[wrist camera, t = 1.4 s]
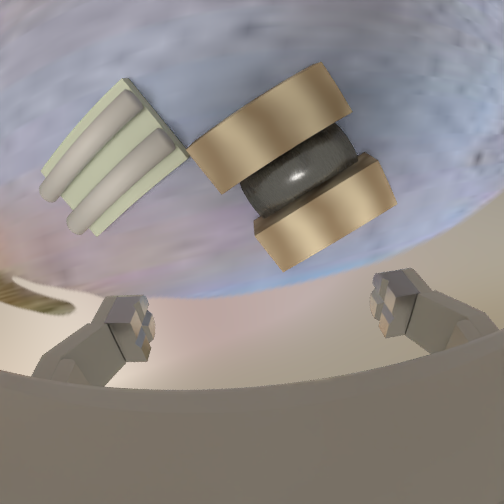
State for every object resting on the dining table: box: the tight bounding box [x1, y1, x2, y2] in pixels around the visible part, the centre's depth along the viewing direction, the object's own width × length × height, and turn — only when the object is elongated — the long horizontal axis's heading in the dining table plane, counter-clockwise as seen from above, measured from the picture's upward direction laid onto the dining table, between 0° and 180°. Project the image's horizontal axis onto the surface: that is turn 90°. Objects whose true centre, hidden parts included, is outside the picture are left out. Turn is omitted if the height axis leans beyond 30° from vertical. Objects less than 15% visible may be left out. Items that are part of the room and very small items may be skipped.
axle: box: [240, 123, 358, 219], centre depth 31 cm, size 12×5×5 cm, turn 125°
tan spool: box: [186, 62, 397, 272], centre depth 31 cm, size 16×18×4 cm
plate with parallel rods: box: [39, 78, 190, 237], centre depth 29 cm, size 16×12×5 cm
